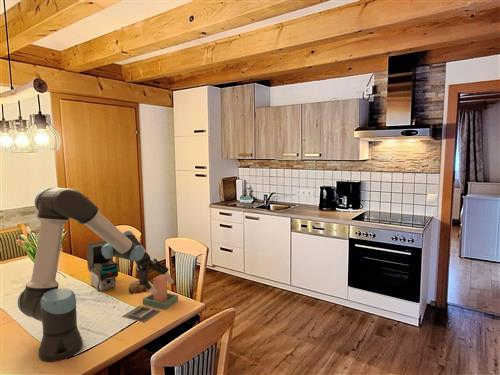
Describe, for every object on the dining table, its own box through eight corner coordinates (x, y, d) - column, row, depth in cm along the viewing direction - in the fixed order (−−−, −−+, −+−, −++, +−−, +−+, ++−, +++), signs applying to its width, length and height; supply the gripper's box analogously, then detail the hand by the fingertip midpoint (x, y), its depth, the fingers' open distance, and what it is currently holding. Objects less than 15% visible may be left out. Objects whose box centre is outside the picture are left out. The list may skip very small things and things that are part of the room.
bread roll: (127, 297, 183) (122, 287, 179) (139, 284, 191) (135, 274, 187) (140, 301, 178) (135, 290, 175) (152, 287, 186) (147, 277, 182)
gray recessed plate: (144, 324, 147) (144, 319, 146) (121, 318, 152) (121, 313, 152) (161, 313, 158) (161, 308, 157) (139, 307, 163) (139, 302, 163)
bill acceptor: (101, 295, 177) (99, 251, 175) (87, 283, 194) (85, 243, 191) (120, 289, 185) (118, 247, 182) (105, 278, 201) (104, 239, 198)
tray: (164, 311, 159) (164, 304, 159) (142, 306, 165) (142, 298, 164) (178, 302, 169) (178, 295, 169) (156, 297, 175) (156, 290, 174)
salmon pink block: (159, 305, 163) (159, 279, 162) (153, 304, 165) (153, 278, 163) (167, 300, 169) (166, 275, 167) (161, 299, 170) (160, 274, 169)
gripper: (152, 253, 182) (174, 283, 178) (118, 267, 159) (143, 302, 155) (159, 245, 180) (182, 275, 175) (126, 258, 157) (151, 293, 152)
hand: (163, 288), depth 165 cm, fingers open, 13 cm apart
